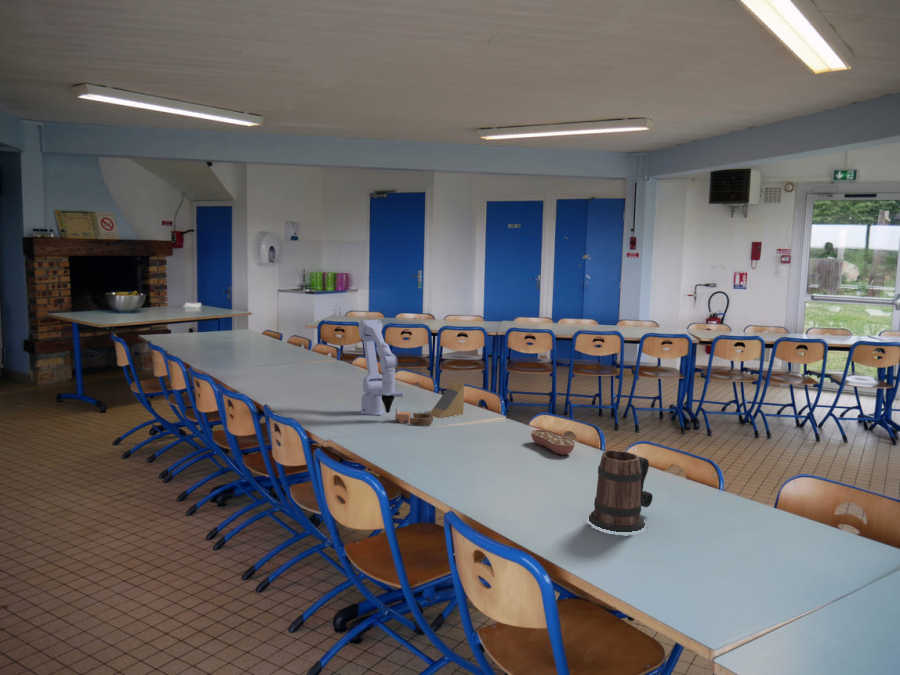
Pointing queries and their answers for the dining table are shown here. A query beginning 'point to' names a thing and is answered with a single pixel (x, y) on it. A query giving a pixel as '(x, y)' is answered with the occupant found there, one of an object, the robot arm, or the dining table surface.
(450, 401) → the sandwich container
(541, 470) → the dining table surface
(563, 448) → the brown bread loaf
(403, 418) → the cart
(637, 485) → the tankard
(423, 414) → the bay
